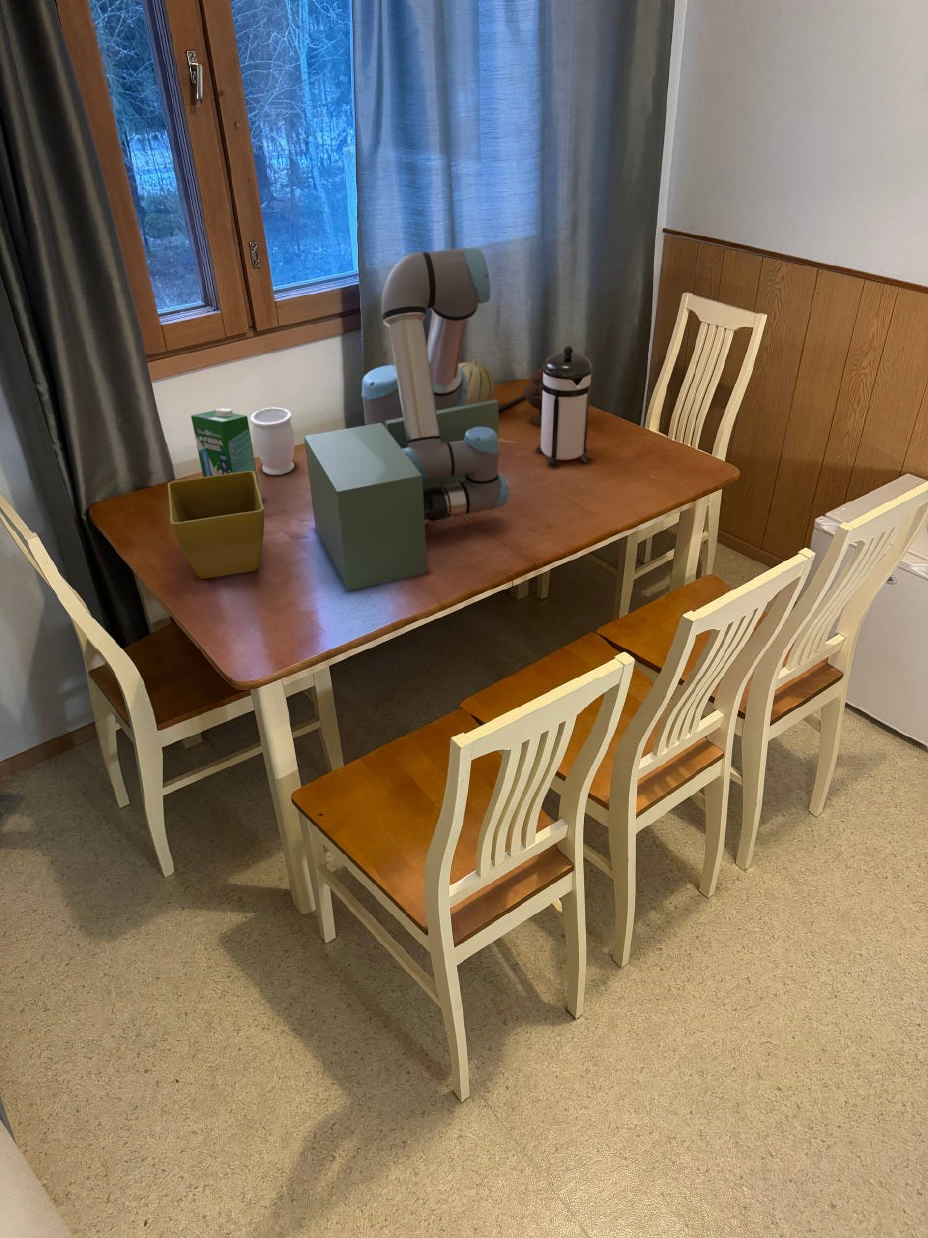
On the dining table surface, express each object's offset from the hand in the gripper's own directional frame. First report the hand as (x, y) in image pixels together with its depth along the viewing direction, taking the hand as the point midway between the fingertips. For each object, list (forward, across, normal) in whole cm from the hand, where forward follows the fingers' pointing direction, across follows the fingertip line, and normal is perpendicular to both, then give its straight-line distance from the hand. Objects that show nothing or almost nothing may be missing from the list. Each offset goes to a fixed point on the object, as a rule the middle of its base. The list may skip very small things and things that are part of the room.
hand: (345, 522), depth 205 cm
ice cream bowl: (-71, +48, -9) cm, 86 cm away
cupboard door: (-29, +17, -8) cm, 35 cm away
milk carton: (+20, +33, -9) cm, 39 cm away
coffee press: (-66, +27, -9) cm, 72 cm away
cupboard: (-5, 0, -9) cm, 10 cm away
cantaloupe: (-55, +63, -9) cm, 84 cm away
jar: (+5, +49, -9) cm, 50 cm away
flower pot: (+26, +8, -9) cm, 29 cm away
